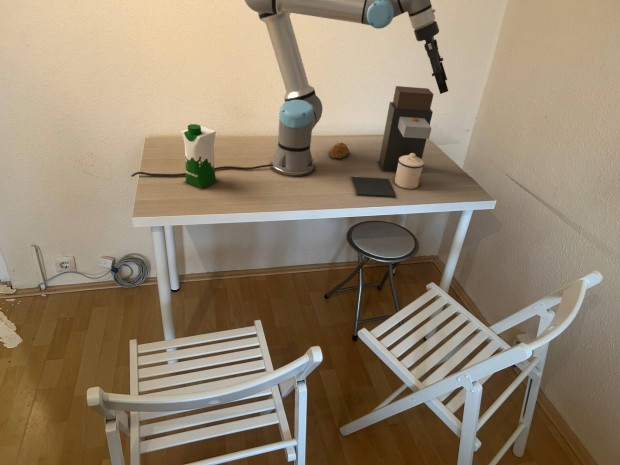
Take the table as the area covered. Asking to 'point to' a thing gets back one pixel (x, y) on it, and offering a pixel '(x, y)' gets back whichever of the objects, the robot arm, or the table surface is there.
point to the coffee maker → (406, 126)
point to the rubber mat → (373, 187)
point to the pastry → (339, 150)
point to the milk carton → (199, 155)
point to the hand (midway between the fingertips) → (443, 86)
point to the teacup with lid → (409, 171)
